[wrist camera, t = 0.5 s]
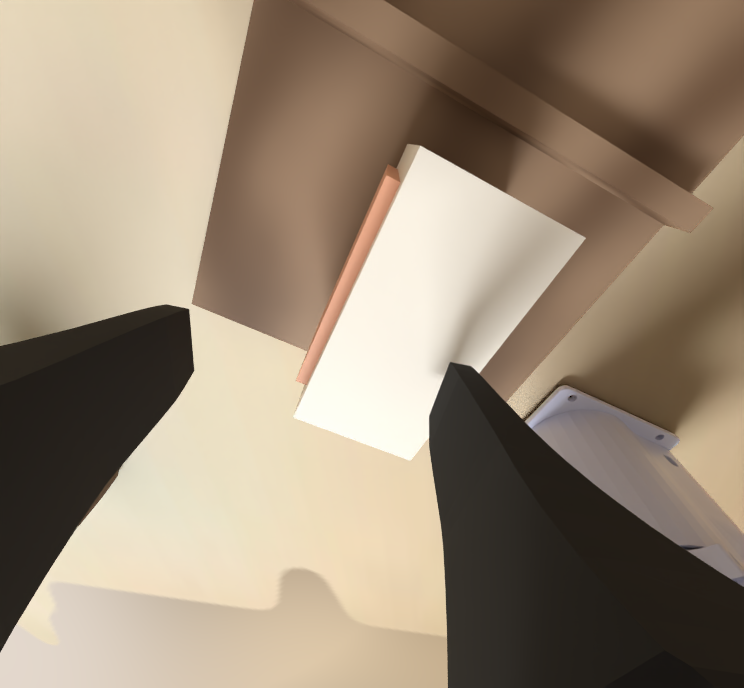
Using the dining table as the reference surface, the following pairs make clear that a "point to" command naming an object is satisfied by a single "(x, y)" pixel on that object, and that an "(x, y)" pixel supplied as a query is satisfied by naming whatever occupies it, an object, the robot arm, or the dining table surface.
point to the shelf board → (466, 139)
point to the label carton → (424, 299)
